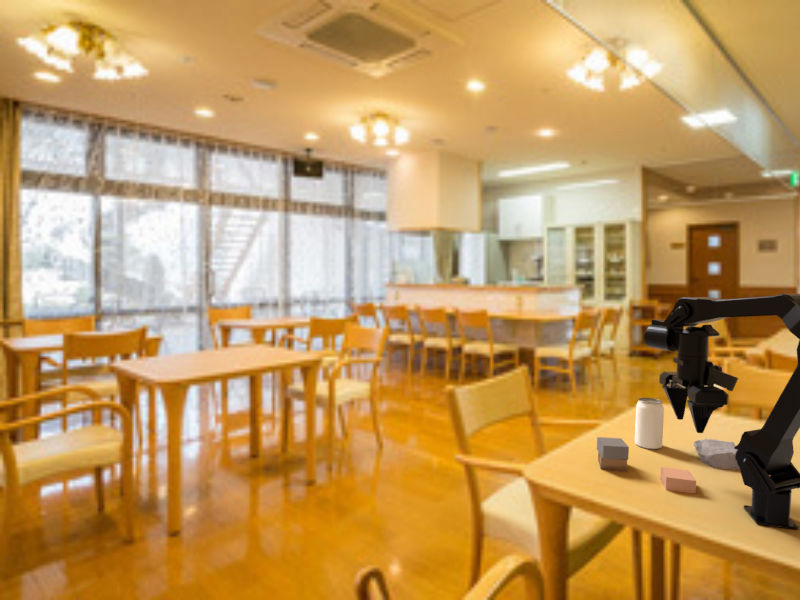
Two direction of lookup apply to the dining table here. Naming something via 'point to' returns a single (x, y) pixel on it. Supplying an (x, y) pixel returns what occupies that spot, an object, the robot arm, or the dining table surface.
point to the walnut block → (612, 464)
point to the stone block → (717, 453)
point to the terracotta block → (678, 480)
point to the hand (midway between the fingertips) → (689, 425)
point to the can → (649, 423)
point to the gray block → (612, 448)
